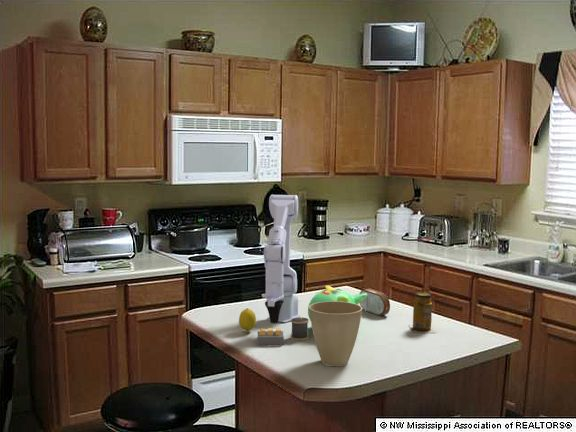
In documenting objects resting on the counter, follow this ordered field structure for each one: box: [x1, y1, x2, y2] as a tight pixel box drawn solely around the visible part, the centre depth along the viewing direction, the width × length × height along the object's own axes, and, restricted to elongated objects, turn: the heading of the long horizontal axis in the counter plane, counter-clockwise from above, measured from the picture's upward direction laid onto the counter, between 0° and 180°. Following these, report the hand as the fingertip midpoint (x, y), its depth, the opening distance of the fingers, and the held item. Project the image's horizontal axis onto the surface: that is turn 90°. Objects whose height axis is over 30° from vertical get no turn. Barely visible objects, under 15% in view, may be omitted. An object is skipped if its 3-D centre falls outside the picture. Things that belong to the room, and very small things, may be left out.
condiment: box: [408, 292, 437, 334], centre depth 206 cm, size 7×8×12 cm
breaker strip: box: [257, 327, 285, 347], centre depth 192 cm, size 8×6×4 cm
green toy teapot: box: [307, 285, 367, 322], centre depth 204 cm, size 18×17×15 cm
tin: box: [359, 288, 391, 317], centre depth 227 cm, size 15×3×8 cm, turn 33°
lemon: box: [238, 307, 257, 333], centre depth 202 cm, size 6×6×8 cm
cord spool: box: [290, 316, 310, 342], centre depth 196 cm, size 6×6×6 cm
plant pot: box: [308, 301, 363, 367], centre depth 174 cm, size 15×15×16 cm
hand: (274, 322), depth 199 cm, fingers closed
